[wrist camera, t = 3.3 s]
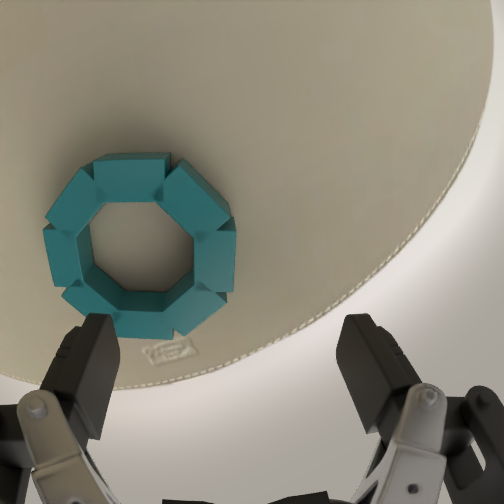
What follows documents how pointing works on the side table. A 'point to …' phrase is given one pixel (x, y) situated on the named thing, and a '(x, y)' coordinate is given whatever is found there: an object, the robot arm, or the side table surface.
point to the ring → (173, 203)
